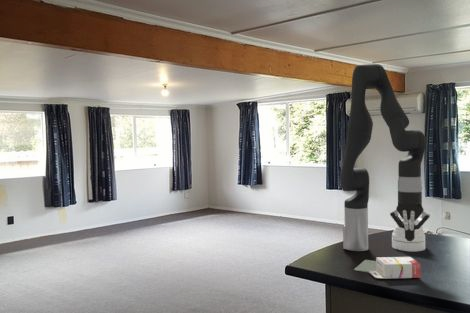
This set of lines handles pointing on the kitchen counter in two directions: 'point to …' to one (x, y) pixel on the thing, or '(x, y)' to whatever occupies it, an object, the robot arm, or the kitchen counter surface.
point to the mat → (366, 266)
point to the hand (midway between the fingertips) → (409, 240)
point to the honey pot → (402, 243)
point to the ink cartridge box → (396, 268)
